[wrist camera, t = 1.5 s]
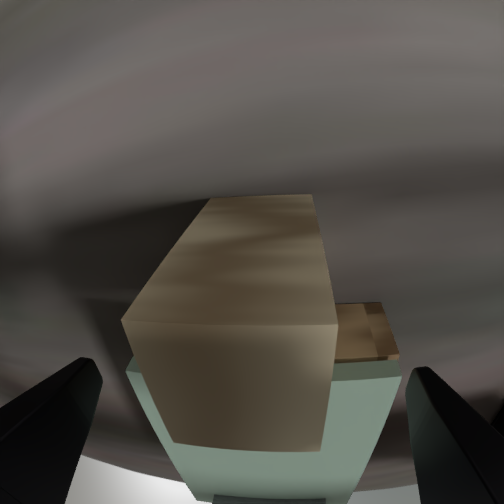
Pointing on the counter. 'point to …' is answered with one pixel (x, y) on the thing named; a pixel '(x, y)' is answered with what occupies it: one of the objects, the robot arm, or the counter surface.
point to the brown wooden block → (240, 328)
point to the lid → (291, 463)
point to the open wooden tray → (363, 334)
